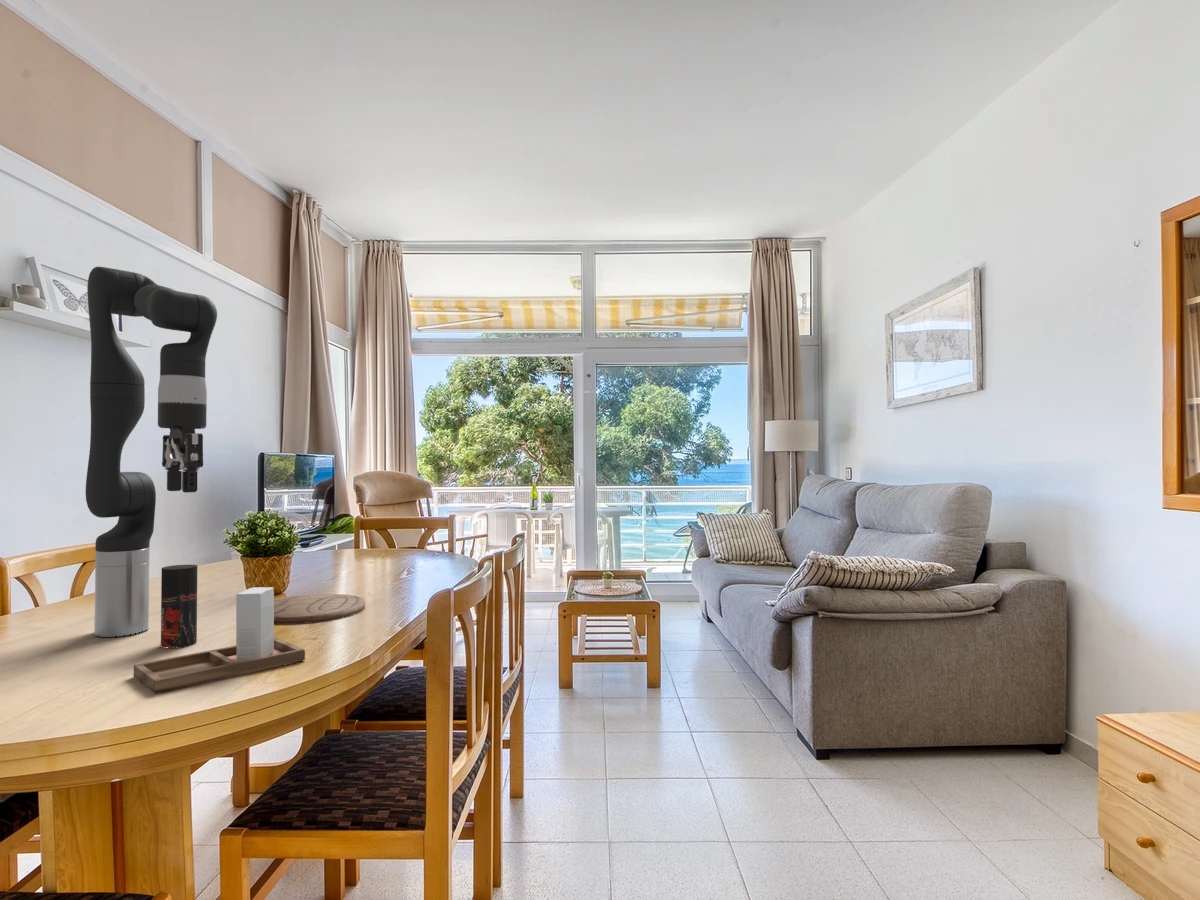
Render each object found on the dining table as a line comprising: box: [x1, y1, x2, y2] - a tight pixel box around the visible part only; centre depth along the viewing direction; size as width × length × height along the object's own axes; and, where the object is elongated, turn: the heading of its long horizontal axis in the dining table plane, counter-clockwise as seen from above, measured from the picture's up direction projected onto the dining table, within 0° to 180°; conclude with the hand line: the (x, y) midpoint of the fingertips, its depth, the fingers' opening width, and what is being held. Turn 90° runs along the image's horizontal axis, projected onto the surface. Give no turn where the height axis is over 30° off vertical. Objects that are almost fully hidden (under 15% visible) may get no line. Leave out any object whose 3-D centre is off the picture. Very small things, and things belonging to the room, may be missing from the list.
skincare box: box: [235, 586, 275, 662], centre depth 120 cm, size 6×4×12 cm
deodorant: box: [160, 564, 198, 649], centre depth 131 cm, size 6×6×15 cm
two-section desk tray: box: [133, 637, 306, 695], centre depth 116 cm, size 12×23×2 cm, turn 138°
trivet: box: [274, 593, 366, 624], centre depth 160 cm, size 25×25×2 cm
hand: (181, 491), depth 122 cm, fingers open, 8 cm apart
